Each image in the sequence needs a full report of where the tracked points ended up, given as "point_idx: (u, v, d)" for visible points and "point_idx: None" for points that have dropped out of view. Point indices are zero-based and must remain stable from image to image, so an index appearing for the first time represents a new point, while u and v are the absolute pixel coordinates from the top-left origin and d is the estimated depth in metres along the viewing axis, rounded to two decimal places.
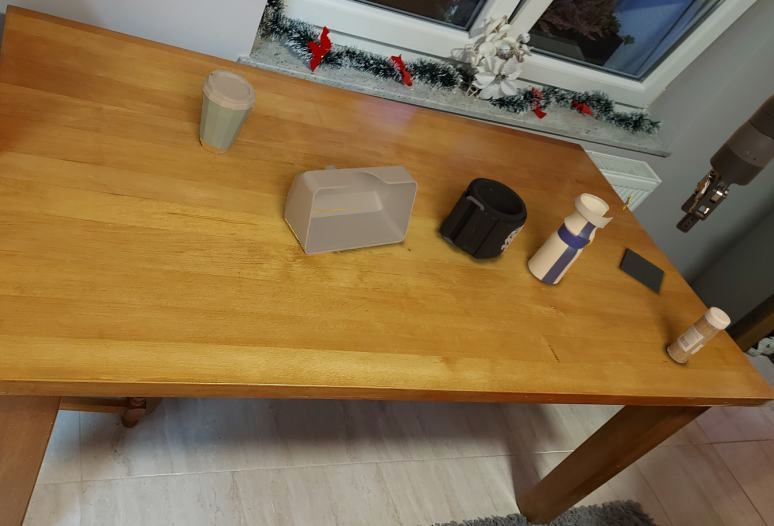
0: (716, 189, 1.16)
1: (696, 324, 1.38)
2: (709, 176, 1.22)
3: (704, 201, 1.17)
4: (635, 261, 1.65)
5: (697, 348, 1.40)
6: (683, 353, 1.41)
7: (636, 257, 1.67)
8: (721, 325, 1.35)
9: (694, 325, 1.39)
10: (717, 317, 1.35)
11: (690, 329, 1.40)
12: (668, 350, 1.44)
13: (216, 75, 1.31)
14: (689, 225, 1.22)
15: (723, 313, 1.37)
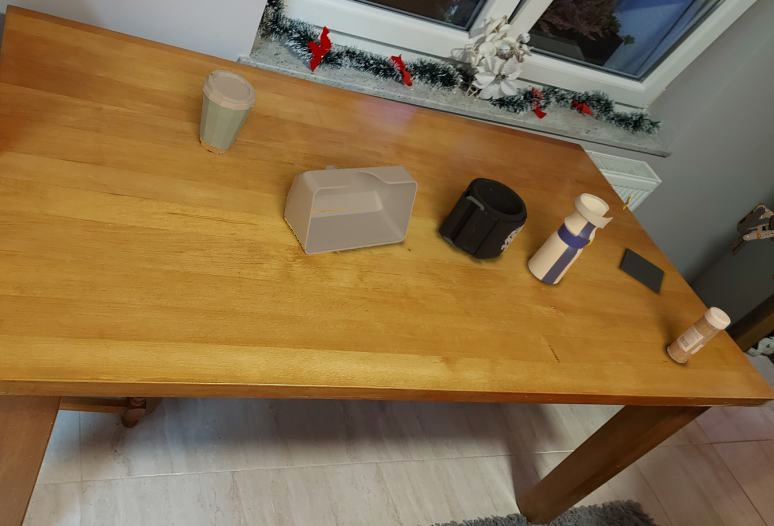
0: (761, 204, 1.23)
1: (696, 324, 1.38)
2: None
3: (748, 213, 1.25)
4: (635, 261, 1.65)
5: (697, 348, 1.40)
6: (683, 353, 1.41)
7: (636, 257, 1.67)
8: (721, 325, 1.35)
9: (694, 325, 1.39)
10: (717, 317, 1.35)
11: (690, 329, 1.40)
12: (668, 350, 1.44)
13: (216, 75, 1.31)
14: (734, 243, 1.28)
15: (723, 313, 1.37)
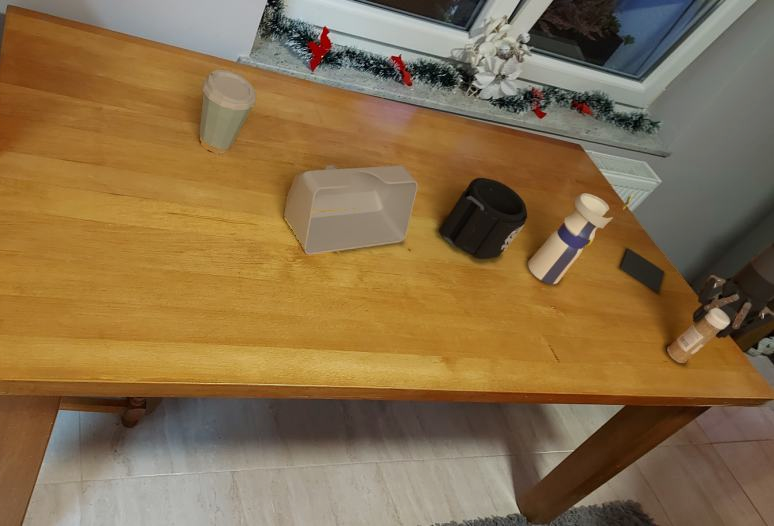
0: (712, 274, 1.34)
1: (696, 324, 1.38)
2: None
3: None
4: (635, 261, 1.65)
5: (697, 348, 1.40)
6: (683, 353, 1.41)
7: (636, 257, 1.67)
8: (721, 325, 1.35)
9: (694, 325, 1.39)
10: (717, 317, 1.35)
11: (690, 329, 1.40)
12: (668, 350, 1.44)
13: (216, 75, 1.31)
14: (696, 312, 1.38)
15: (723, 313, 1.37)
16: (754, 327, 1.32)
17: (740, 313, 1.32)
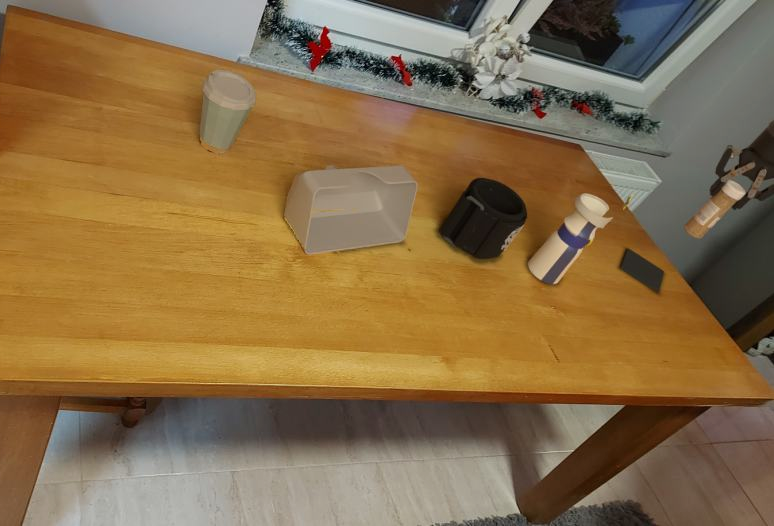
0: (729, 146, 1.40)
1: (713, 197, 1.45)
2: None
3: (721, 157, 1.42)
4: (635, 261, 1.65)
5: (714, 221, 1.46)
6: (700, 227, 1.48)
7: (636, 257, 1.67)
8: (737, 195, 1.41)
9: (711, 199, 1.46)
10: (733, 187, 1.41)
11: (707, 203, 1.46)
12: (685, 227, 1.50)
13: (216, 75, 1.31)
14: (713, 185, 1.44)
15: (739, 185, 1.43)
16: (769, 195, 1.39)
17: (756, 181, 1.39)
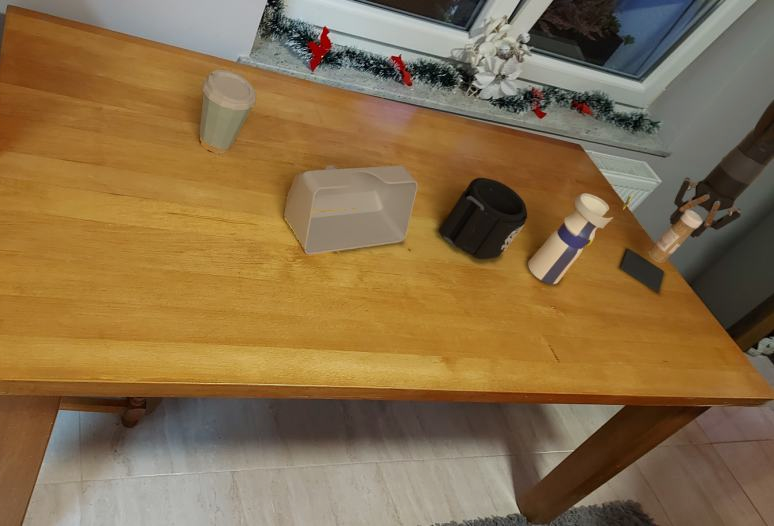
0: (686, 178, 1.51)
1: (673, 226, 1.55)
2: None
3: (680, 188, 1.52)
4: (635, 261, 1.65)
5: (674, 248, 1.56)
6: (662, 253, 1.58)
7: (636, 257, 1.67)
8: (694, 224, 1.51)
9: (671, 227, 1.56)
10: (690, 217, 1.52)
11: (667, 231, 1.56)
12: (648, 252, 1.61)
13: (216, 75, 1.31)
14: (673, 214, 1.54)
15: (696, 214, 1.53)
16: (723, 224, 1.49)
17: (711, 211, 1.49)
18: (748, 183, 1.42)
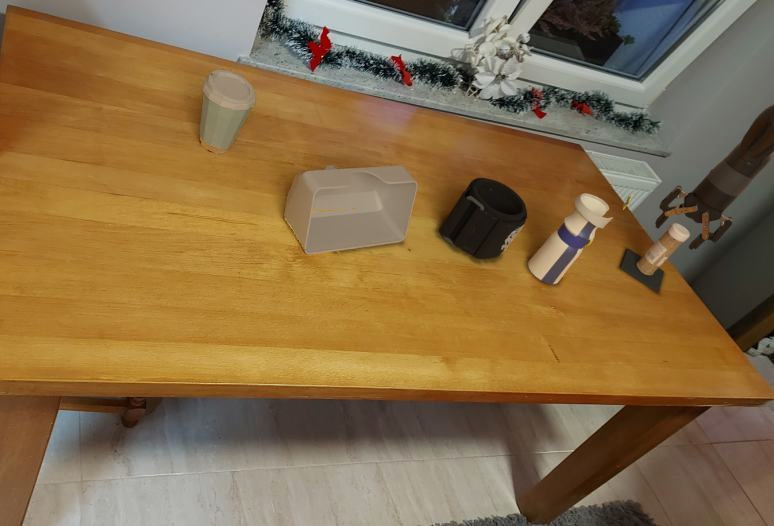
0: (678, 186, 1.52)
1: (660, 239, 1.58)
2: None
3: (669, 194, 1.54)
4: (635, 261, 1.65)
5: (662, 260, 1.59)
6: (650, 265, 1.61)
7: (636, 257, 1.67)
8: (682, 238, 1.54)
9: (659, 240, 1.58)
10: (678, 230, 1.54)
11: (655, 244, 1.59)
12: (637, 264, 1.63)
13: (216, 75, 1.31)
14: (658, 218, 1.57)
15: (684, 228, 1.56)
16: (720, 235, 1.51)
17: (703, 224, 1.51)
18: (735, 195, 1.44)
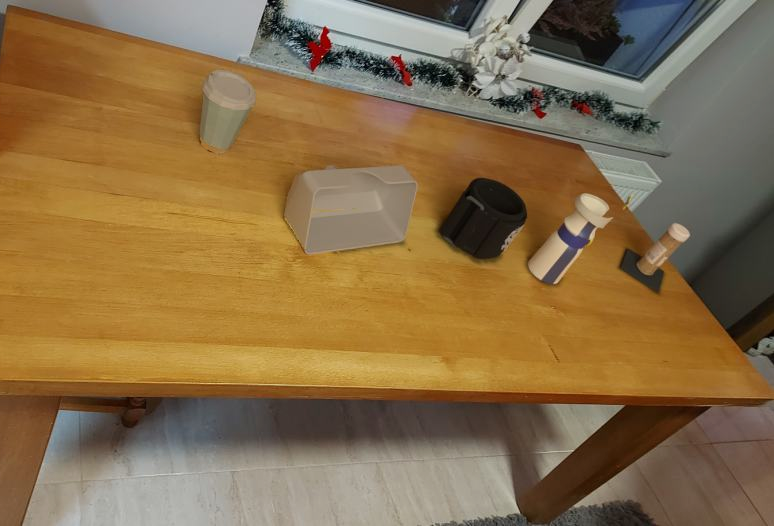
0: None
1: (660, 239, 1.58)
2: None
3: None
4: (635, 261, 1.65)
5: (662, 260, 1.59)
6: (650, 265, 1.61)
7: (636, 257, 1.67)
8: (682, 238, 1.54)
9: (659, 240, 1.58)
10: (678, 230, 1.54)
11: (655, 244, 1.59)
12: (637, 264, 1.63)
13: (216, 75, 1.31)
14: None
15: (684, 228, 1.56)
16: None
17: None
18: None
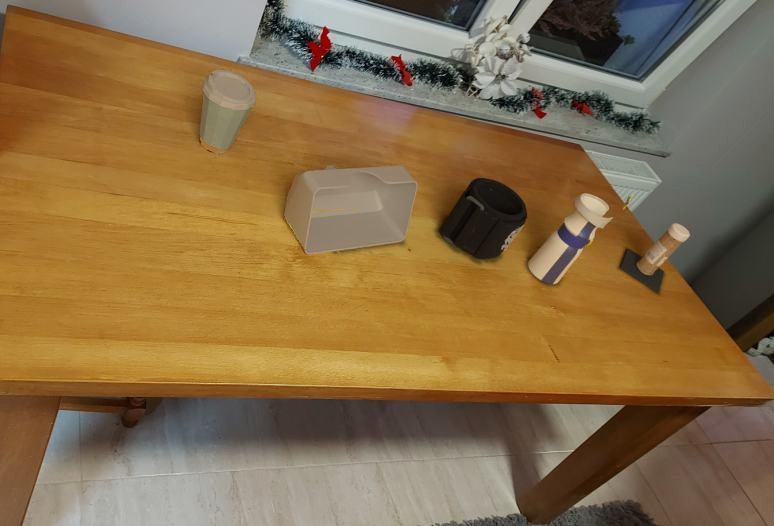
0: None
1: (660, 239, 1.58)
2: None
3: None
4: (635, 261, 1.65)
5: (662, 260, 1.59)
6: (650, 265, 1.61)
7: (636, 257, 1.67)
8: (682, 238, 1.54)
9: (659, 240, 1.58)
10: (678, 230, 1.54)
11: (655, 244, 1.59)
12: (637, 264, 1.63)
13: (216, 75, 1.31)
14: None
15: (684, 228, 1.56)
16: None
17: None
18: None
